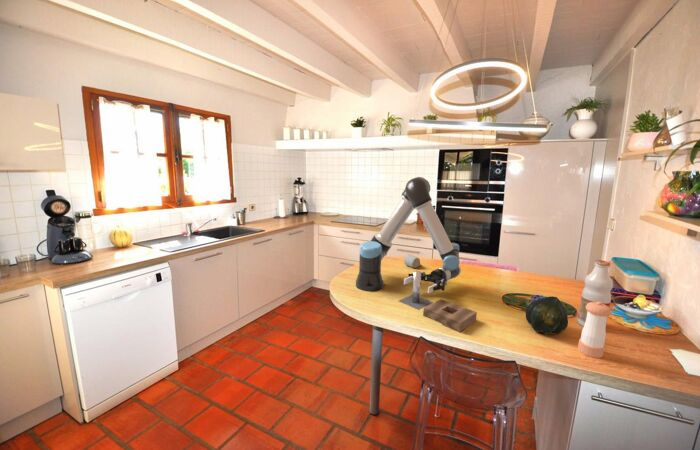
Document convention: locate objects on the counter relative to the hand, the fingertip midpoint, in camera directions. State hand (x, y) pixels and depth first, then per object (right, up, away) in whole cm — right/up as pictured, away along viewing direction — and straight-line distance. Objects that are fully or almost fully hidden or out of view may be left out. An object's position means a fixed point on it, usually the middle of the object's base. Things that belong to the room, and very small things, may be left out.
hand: (416, 285), depth 143 cm
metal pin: (0, -8, +3) cm, 9 cm away
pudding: (+59, -11, +1) cm, 60 cm away
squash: (+48, -14, -19) cm, 54 cm away
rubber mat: (0, -9, +3) cm, 9 cm away
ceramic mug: (+10, +1, +57) cm, 58 cm away
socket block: (+12, -12, -12) cm, 21 cm away
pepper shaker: (+55, -17, -34) cm, 67 cm away
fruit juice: (+70, -14, -16) cm, 73 cm away
